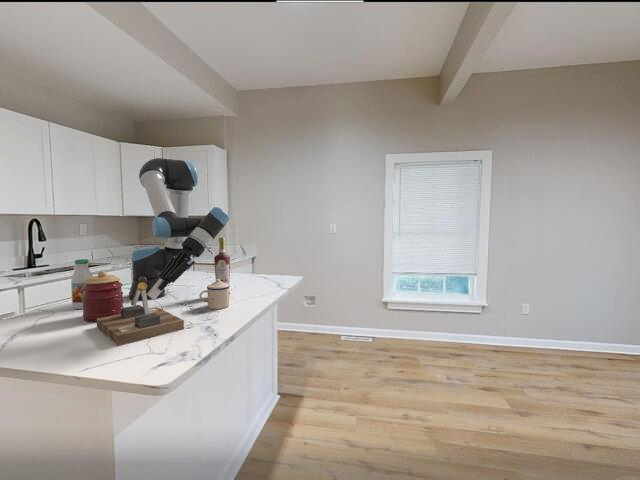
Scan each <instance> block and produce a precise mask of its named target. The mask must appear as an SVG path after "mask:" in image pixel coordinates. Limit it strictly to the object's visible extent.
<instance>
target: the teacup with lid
mask: <svg viewBox="0 0 640 480" xmlns="http://www.w3.org/2000/svg"><path fill="white" fill-rule="evenodd" d="M206 289H207V290H203V291H201V292H200V293H199V298H200V301H201V302H203V303H207V308H208V309H210V310H223V309H227V308H229V306H230V294H229V292H230V284H229V285H228V284H226V283H224V282H221V280H220V279H217V280H216V279H215V281H214V282H212V283H211V284H208V285H207V287H206ZM204 293H207V299H206V300H204V299H203V297H202V295H203V294H204Z"/></svg>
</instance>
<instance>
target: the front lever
mask: <svg viewBox="0 0 640 480" xmlns="http://www.w3.org/2000/svg"><path fill="white" fill-rule="evenodd" d="M137 288H138V290H140V291H141V297H142V300H141V301H142V307H143V309H144V314H149V308H150V307H149V303H148V301H149V300H147V295H146V289H147V284H146V283H144V282H141V283H139V284H138V286H137Z"/></svg>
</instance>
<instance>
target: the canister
mask: <svg viewBox="0 0 640 480" xmlns="http://www.w3.org/2000/svg"><path fill="white" fill-rule="evenodd" d="M120 280H121V278H120V277H118V276H116V275H113V274H107V272H106V271H104V270H100V271H98V272H97V275H94V276H93V277H89V278H88V279H87V280H85V281H84V283H86V284H85V286H83V287H82V288H81V289H82V290H83V296H82V299H83V309H82V317H83V320H84V321H86V322H91V323H92V322H93V323H95V322H96V323H97V320H96V319H98V318H103V317H108V316H113V315H118V314H121V308H124V302H123V299H124V297H123V295H124V292H123V291H122V286H123V283H121V281H120Z"/></svg>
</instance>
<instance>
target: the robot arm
mask: <svg viewBox="0 0 640 480" xmlns="http://www.w3.org/2000/svg"><path fill="white" fill-rule="evenodd" d="M138 173H139V174H138V179H139V181H140V185H141V186H142V187H143V188H144V189H145V192H146V194H147V197H148V200H149V203H150V205H151V209H152V212H153V215H154V218H153V219H152V222H151V229H152V234H153V237H155V238H160V239H161V238H162V239H163V238H164V239H167V242H165V243H164V247H163V248H161V247H160V246H159V245H154V246H153V245H152V246H151V245H149V246H144V247H139V248H136V249H134V250H133V251H132V252H131V265H132V268H131V269H132V270H131V272H132V283H131V286H130V289H129V292H128V298H129V300H133V298H134V295H135V292H136V290H137V286H138V284H139V282H138V279H139V278H140V277H142V276H144V277H146V278H147V282H146V284H147V289H146V295H147V301H149V300H154V301H155V300H156V299H158V298H159V299H160V298H162V297H165V295H166V289H165V288H166V287H167V286H168V285H169V284H171V283H173V284H174V283H175V282H176V281H177V280H178V279H179V278H180V277H181V276H183V274H184V273H185V272H186V271H189V270H190V269H191V268H192V267H193V265H194V264H195V263H196V261H195V260H194V259H195V258H199V257H201V255H202V254H203V253H204V252H205V250H206V249H208V247H209V246H210V245H211V243H212V242H213V241H214V239H215V238H216V237H217V236H218V235H219V233H220V232H221V231H222V230H223V229H224V228H225V227H226V225H227V224H228V223H229V221H230V216H229V214H228V212H226V211H225V210H224V209H222V208H221V207H219V206H218V207H217V206H215V207H213V208H212V209H211V210H209V212H208V213H207V214H206V215H204V216H201V217H199V216H198V217H193V216H192V217H189V207H190V206H189V205H190V204H189V203H190V194H191V193H192V192H193V191H194V190H193V189H194V187H197V186H198V183H199V176H198V169H197V167H196V165H195V163H193V162H192V161H187V160H181V159H170V158H162V157H157V158H156V157H155V158H152V159H150V160H148V161H146V162H145V163H144V164H142V166H141V168H140V170H139V172H138ZM137 301H142V297H141V292H140V295H139V298H138V300H137Z"/></svg>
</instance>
